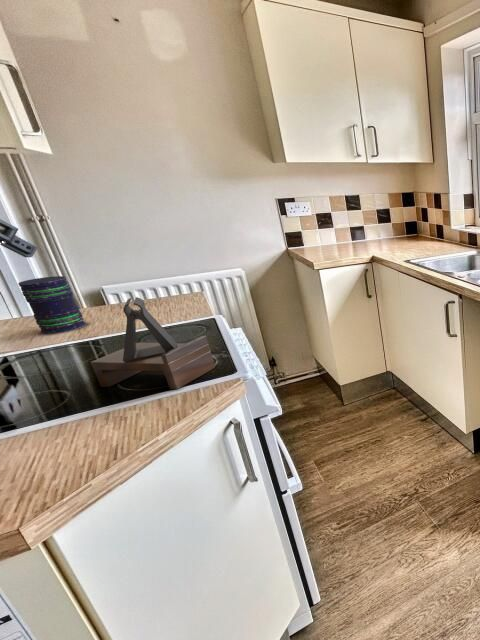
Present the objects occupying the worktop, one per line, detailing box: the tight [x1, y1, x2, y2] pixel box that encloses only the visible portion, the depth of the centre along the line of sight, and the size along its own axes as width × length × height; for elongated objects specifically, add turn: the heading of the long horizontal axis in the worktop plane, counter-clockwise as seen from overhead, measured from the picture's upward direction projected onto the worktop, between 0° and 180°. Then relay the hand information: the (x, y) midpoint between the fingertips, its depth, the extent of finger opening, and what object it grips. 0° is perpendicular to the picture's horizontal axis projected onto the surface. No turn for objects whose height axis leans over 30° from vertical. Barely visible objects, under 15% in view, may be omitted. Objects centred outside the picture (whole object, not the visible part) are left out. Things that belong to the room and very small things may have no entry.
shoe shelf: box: [90, 335, 216, 390], centre depth 94 cm, size 18×11×8 cm, turn 85°
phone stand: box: [122, 296, 177, 362], centre depth 91 cm, size 9×6×12 cm, turn 126°
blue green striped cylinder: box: [17, 275, 86, 335], centre depth 125 cm, size 10×10×15 cm
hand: (10, 253), depth 70 cm, fingers open, 8 cm apart
